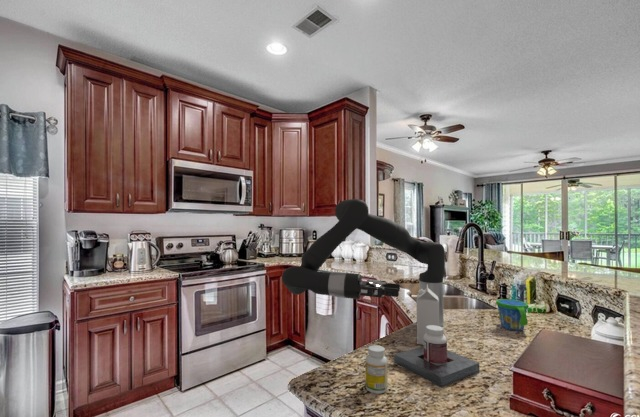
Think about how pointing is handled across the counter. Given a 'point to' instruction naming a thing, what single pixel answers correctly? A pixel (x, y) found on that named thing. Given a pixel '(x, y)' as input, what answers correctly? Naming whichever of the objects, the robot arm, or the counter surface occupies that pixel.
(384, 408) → the counter surface
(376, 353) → the supplement bottle
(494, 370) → the counter surface
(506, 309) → the snack cup
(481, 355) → the counter surface
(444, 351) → the pill bottle
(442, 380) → the holder block
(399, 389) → the counter surface
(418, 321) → the milk carton
